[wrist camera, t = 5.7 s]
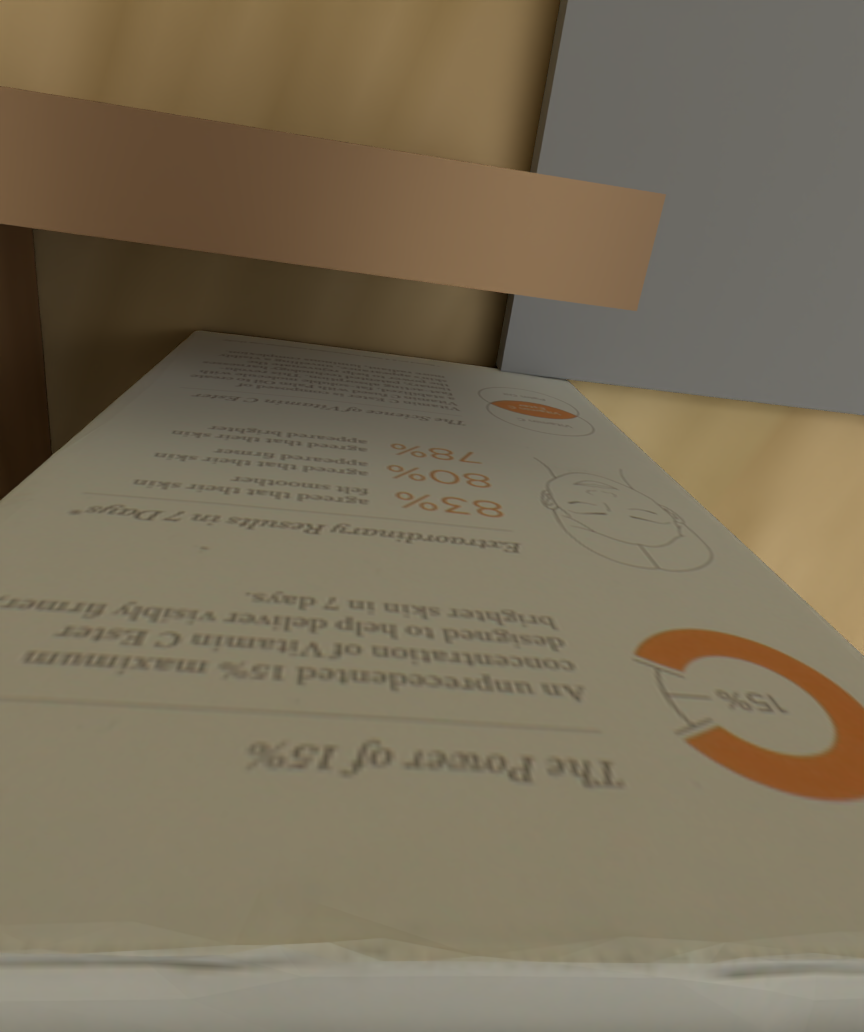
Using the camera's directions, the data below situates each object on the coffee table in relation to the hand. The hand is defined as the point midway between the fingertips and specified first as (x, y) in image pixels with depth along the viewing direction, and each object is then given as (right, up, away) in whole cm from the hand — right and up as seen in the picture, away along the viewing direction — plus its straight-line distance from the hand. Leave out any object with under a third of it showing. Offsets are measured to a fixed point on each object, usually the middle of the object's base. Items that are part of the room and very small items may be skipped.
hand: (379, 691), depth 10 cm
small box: (-1, +3, +7) cm, 7 cm away
